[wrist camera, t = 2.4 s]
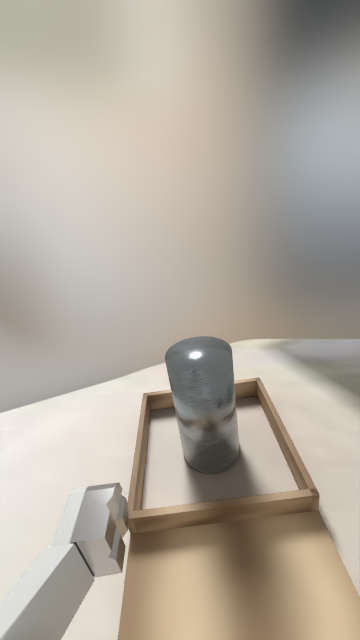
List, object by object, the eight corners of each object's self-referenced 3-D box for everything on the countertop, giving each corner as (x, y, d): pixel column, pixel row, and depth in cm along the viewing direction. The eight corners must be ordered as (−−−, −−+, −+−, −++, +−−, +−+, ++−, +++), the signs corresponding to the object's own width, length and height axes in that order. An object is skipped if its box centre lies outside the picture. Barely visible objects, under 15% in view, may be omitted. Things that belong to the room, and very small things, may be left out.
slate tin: (184, 477, 24) (164, 376, 20) (182, 430, 29) (165, 341, 25) (245, 469, 24) (238, 366, 20) (232, 423, 29) (224, 332, 25)
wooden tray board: (65, 1111, 7) (37, 1135, 7) (146, 407, 33) (143, 393, 32) (584, 1076, 7) (628, 1098, 6) (259, 392, 33) (259, 377, 32)
